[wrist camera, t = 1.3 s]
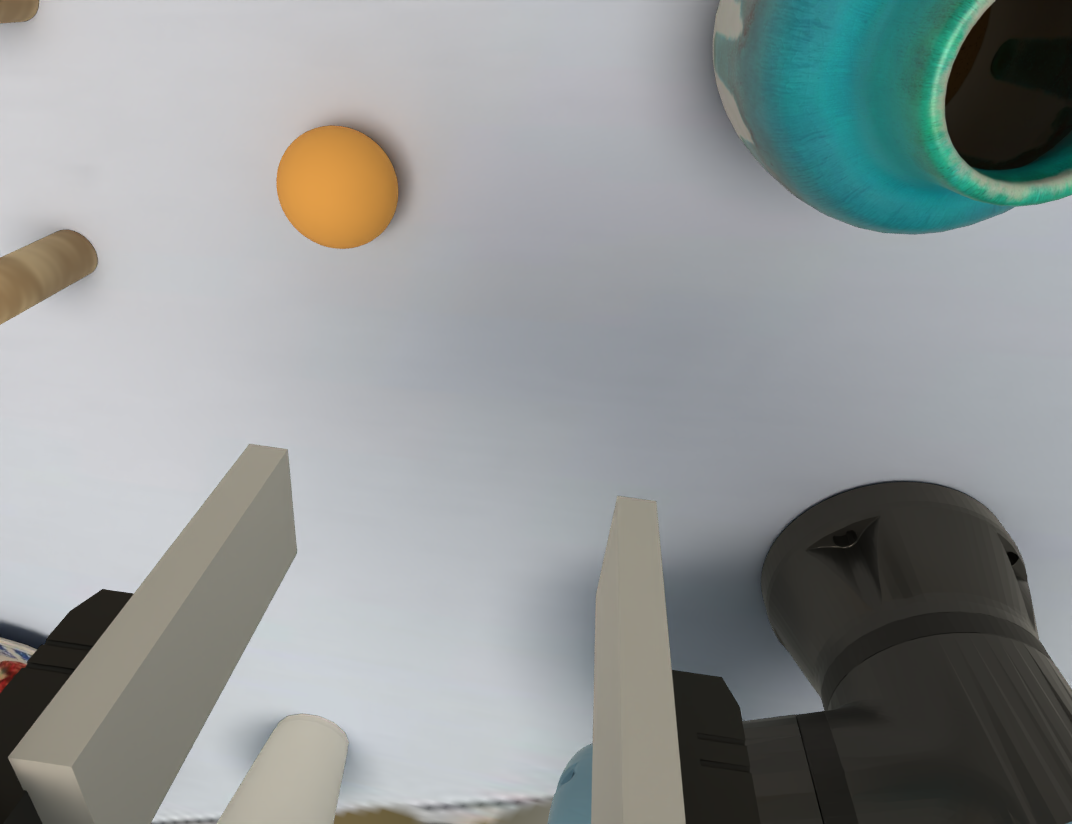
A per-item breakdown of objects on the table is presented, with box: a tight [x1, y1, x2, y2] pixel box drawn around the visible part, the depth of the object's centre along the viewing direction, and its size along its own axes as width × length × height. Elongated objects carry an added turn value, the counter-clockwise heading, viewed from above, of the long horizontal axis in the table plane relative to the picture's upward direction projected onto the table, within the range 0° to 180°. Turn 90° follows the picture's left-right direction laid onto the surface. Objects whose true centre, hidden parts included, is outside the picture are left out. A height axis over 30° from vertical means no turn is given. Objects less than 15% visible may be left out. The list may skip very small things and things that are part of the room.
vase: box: [713, 0, 1072, 234], centre depth 23 cm, size 11×11×19 cm
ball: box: [277, 126, 398, 249], centre depth 33 cm, size 6×6×6 cm
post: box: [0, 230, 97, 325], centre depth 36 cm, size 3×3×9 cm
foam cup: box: [217, 714, 349, 824], centre depth 56 cm, size 10×9×13 cm
